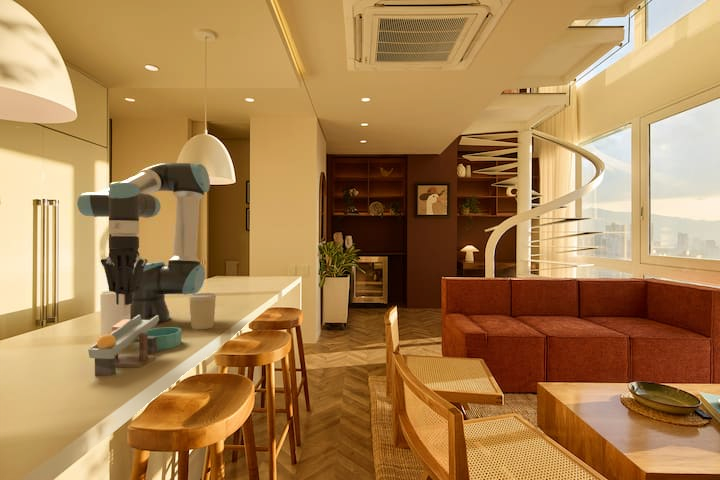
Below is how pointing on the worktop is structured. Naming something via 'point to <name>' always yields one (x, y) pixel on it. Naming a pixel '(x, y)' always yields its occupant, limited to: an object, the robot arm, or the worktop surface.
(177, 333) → the dish
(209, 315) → the coffee cup
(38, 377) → the worktop surface
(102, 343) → the ball
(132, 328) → the lever
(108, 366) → the stand
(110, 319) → the cup
